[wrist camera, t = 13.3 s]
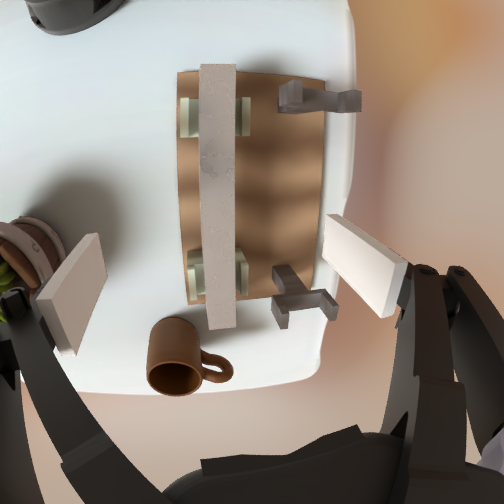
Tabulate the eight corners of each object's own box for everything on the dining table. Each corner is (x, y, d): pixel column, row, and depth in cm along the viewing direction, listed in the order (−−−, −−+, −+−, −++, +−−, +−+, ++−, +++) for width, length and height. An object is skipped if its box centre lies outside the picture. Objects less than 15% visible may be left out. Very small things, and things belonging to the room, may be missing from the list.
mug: (230, 320, 42) (242, 363, 33) (222, 356, 44) (231, 399, 36) (150, 312, 38) (145, 357, 30) (149, 350, 41) (146, 394, 33)
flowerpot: (72, 196, 30) (-21, 262, 12) (89, 300, 36) (46, 409, 18) (-5, 204, 26) (-96, 262, 8) (16, 297, 32) (-41, 383, 14)
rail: (199, 71, 23) (200, 64, 21) (230, 71, 24) (235, 64, 21) (206, 314, 34) (209, 330, 32) (231, 311, 35) (236, 327, 32)
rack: (177, 74, 27) (172, 42, 16) (321, 82, 31) (375, 66, 20) (187, 301, 39) (191, 360, 28) (307, 289, 42) (343, 337, 32)
